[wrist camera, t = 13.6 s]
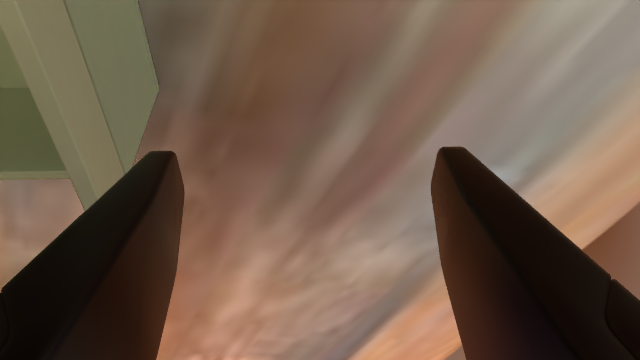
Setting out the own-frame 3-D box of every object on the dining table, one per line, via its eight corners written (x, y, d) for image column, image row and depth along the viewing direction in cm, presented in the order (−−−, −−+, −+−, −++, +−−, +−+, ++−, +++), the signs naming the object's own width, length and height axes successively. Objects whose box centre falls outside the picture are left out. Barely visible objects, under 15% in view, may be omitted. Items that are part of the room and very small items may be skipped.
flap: (-212, -433, 5) (-166, -432, 5) (-92, -374, 9) (-69, -373, 9) (143, 339, 14) (156, 335, 14) (119, 190, 18) (129, 188, 18)
